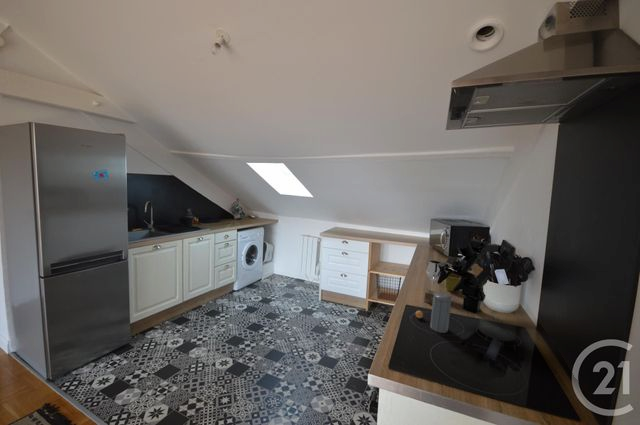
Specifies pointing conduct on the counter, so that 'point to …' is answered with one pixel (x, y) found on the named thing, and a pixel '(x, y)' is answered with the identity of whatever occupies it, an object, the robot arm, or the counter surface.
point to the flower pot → (452, 281)
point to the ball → (419, 314)
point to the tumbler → (440, 312)
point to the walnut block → (429, 296)
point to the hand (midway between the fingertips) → (445, 287)
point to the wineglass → (433, 271)
